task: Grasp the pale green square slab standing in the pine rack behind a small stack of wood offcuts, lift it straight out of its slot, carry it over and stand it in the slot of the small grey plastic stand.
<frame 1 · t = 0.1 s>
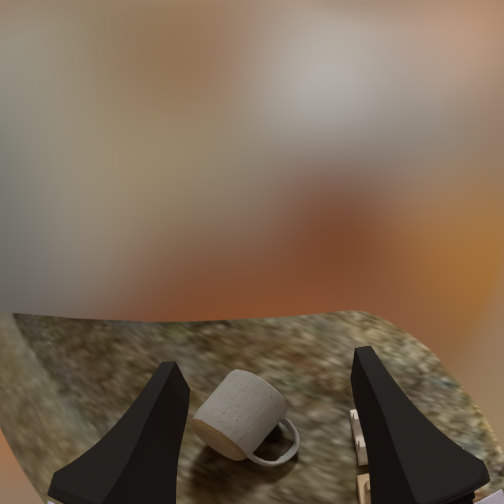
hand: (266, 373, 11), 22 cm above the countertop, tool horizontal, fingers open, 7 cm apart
stand: (380, 434, 26), on the countertop
ceramic mug: (255, 437, 29), on the countertop
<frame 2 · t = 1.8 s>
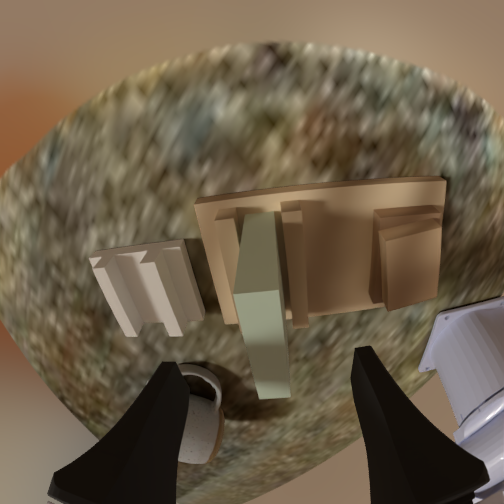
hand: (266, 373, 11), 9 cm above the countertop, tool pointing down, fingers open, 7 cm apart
stand: (149, 281, 20), on the countertop
rack: (329, 250, 19), on the countertop
pale green square slab: (267, 266, 18), point 1 cm above the countertop, touching rack
offcut low: (400, 251, 17), point 1 cm above the countertop, touching offcut top, rack
offcut top: (407, 261, 16), point 2 cm above the countertop, touching offcut low
ceramic mug: (183, 388, 28), on the countertop
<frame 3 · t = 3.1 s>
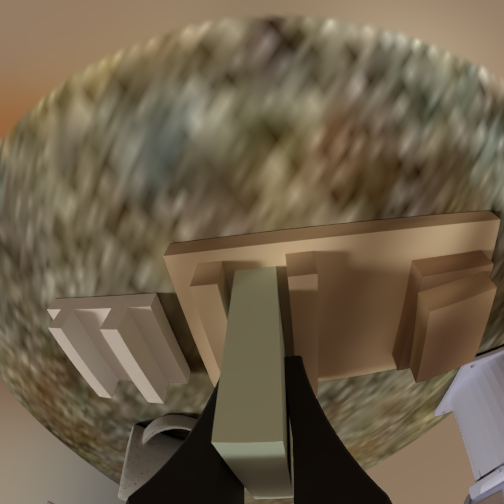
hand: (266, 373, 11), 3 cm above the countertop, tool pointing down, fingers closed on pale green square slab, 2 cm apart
stand: (120, 337, 16), on the countertop
rack: (348, 307, 14), on the countertop
pale green square slab: (266, 331, 13), point 1 cm above the countertop, touching gripper, rack
offcut low: (436, 306, 12), point 1 cm above the countertop, touching offcut top, rack
offcut top: (445, 323, 11), point 2 cm above the countertop, touching offcut low
ceramic mug: (173, 432, 23), on the countertop
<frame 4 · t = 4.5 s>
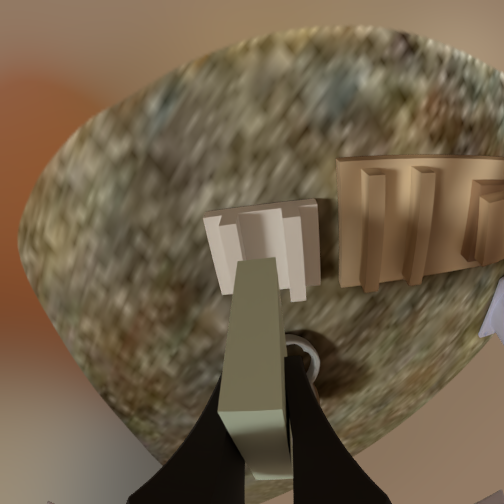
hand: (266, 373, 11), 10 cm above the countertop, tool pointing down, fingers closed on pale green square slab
stand: (265, 245, 20), on the countertop
rack: (434, 215, 18), on the countertop
pale green square slab: (266, 319, 14), point 7 cm above the countertop, touching gripper
offcut low: (485, 217, 17), point 1 cm above the countertop, touching offcut top, rack
offcut top: (494, 224, 16), point 2 cm above the countertop, touching offcut low
ceramic mug: (268, 364, 27), on the countertop
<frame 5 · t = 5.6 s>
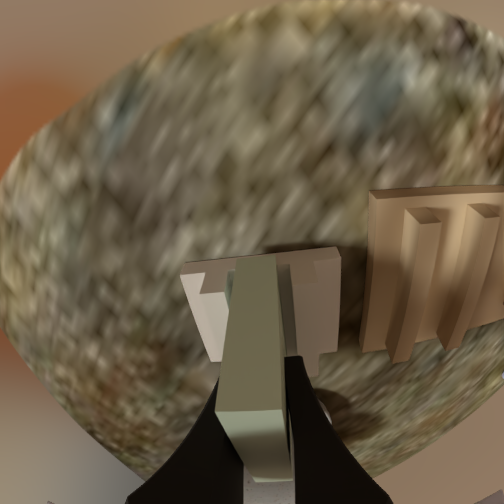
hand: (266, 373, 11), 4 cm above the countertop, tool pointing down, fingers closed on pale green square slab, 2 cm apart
stand: (267, 305, 15), on the countertop
rack: (481, 260, 13), on the countertop
pale green square slab: (266, 319, 14), point 1 cm above the countertop, touching gripper, stand
ceramic mug: (270, 418, 22), on the countertop
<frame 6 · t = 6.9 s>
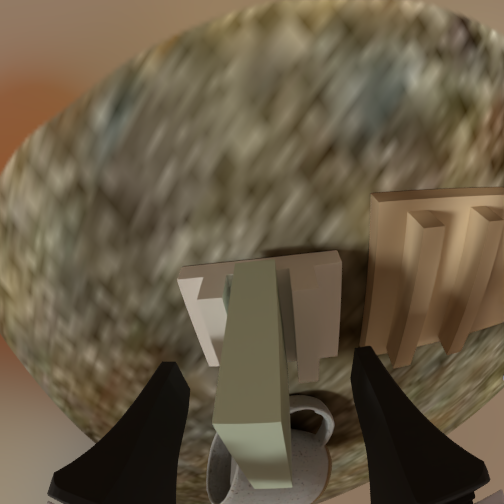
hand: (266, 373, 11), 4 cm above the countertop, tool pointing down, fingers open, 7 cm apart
stand: (266, 310, 15), on the countertop
rack: (483, 263, 13), on the countertop
pale green square slab: (265, 323, 14), point 1 cm above the countertop, touching stand
ceramic mug: (272, 420, 21), on the countertop
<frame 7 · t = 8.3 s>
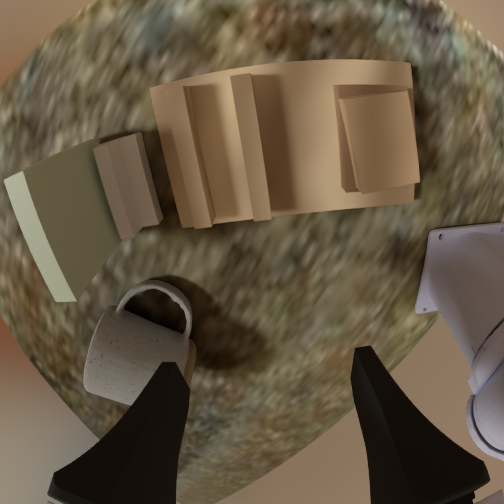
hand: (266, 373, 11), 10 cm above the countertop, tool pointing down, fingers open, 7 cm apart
stand: (107, 186, 18), on the countertop
rack: (292, 137, 16), on the countertop
pale green square slab: (100, 191, 17), point 1 cm above the countertop, touching stand
offcut low: (370, 135, 15), point 1 cm above the countertop, touching offcut top, rack
offcut top: (378, 138, 14), point 2 cm above the countertop, touching offcut low
ceramic mug: (152, 320, 25), on the countertop
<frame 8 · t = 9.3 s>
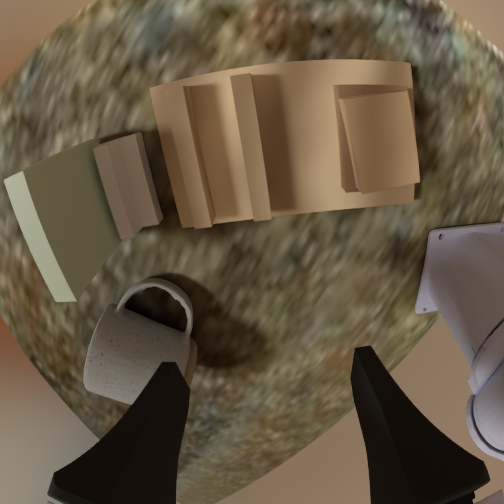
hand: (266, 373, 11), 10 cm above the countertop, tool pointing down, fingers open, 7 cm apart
stand: (107, 186, 18), on the countertop
rack: (292, 137, 16), on the countertop
pale green square slab: (100, 191, 17), point 1 cm above the countertop, touching stand
offcut low: (370, 135, 15), point 1 cm above the countertop, touching offcut top, rack
offcut top: (378, 138, 14), point 2 cm above the countertop, touching offcut low
ceramic mug: (152, 319, 25), on the countertop
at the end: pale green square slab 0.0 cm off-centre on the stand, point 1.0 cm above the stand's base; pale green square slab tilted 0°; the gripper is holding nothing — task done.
